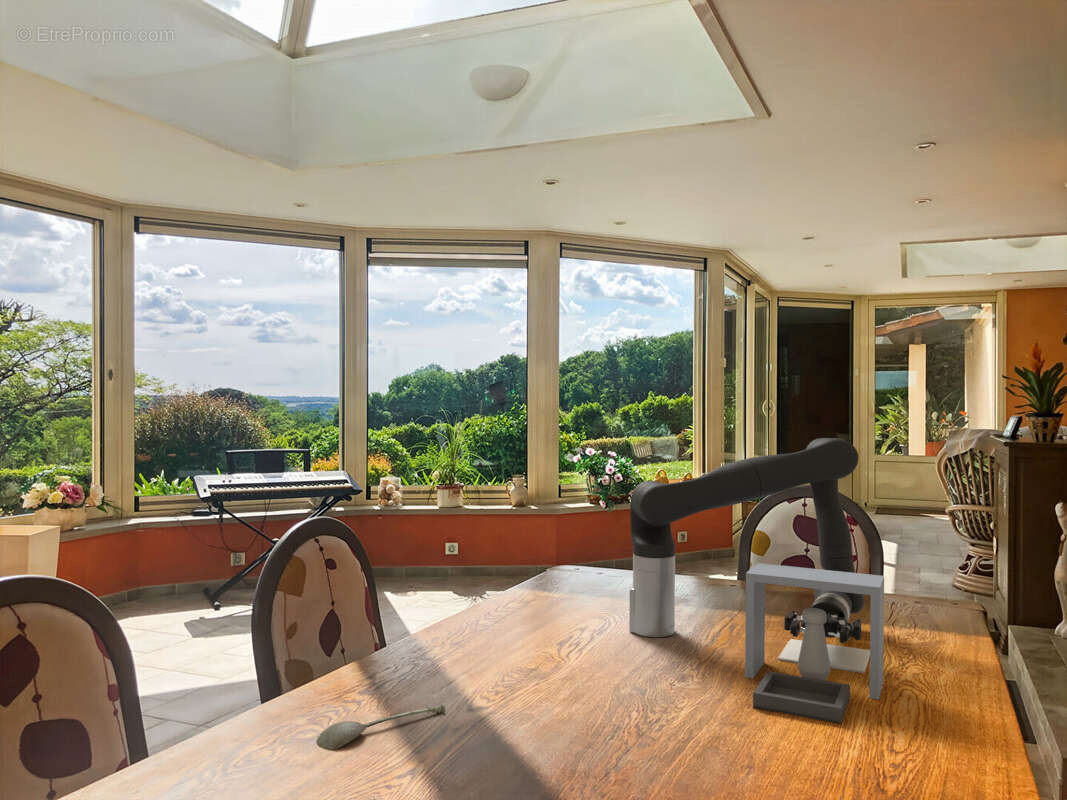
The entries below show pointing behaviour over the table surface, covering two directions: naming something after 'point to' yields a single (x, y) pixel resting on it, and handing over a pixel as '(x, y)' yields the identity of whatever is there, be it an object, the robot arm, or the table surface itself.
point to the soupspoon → (358, 729)
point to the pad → (831, 656)
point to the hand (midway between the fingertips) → (818, 634)
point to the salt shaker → (814, 646)
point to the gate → (813, 580)
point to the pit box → (802, 696)
